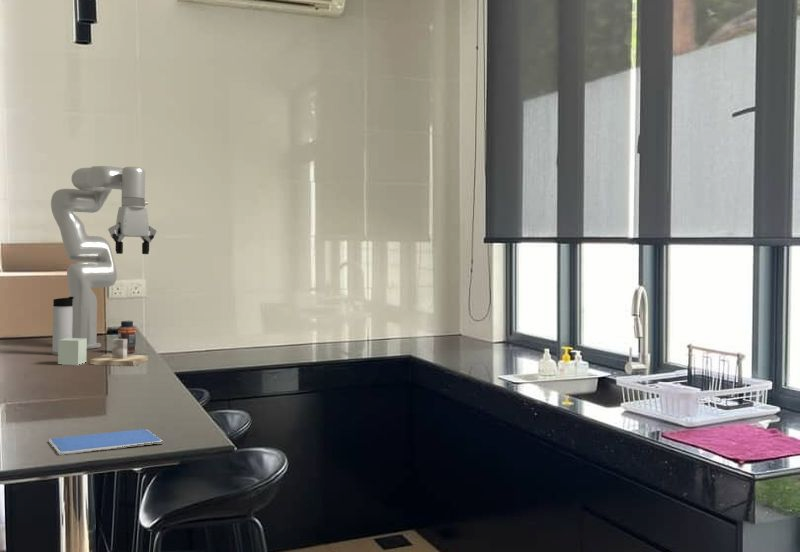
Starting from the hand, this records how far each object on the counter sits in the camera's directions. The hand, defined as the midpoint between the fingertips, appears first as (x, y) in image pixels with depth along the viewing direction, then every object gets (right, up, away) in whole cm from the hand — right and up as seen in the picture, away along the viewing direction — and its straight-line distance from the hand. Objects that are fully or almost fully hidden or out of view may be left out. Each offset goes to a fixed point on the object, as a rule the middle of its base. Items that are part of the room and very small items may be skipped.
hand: (132, 253), depth 272 cm
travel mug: (-25, -35, +4) cm, 43 cm away
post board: (-1, -36, -11) cm, 37 cm away
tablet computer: (+33, -41, -115) cm, 127 cm away
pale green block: (-14, -36, -16) cm, 42 cm away
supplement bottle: (-6, -35, +13) cm, 38 cm away
